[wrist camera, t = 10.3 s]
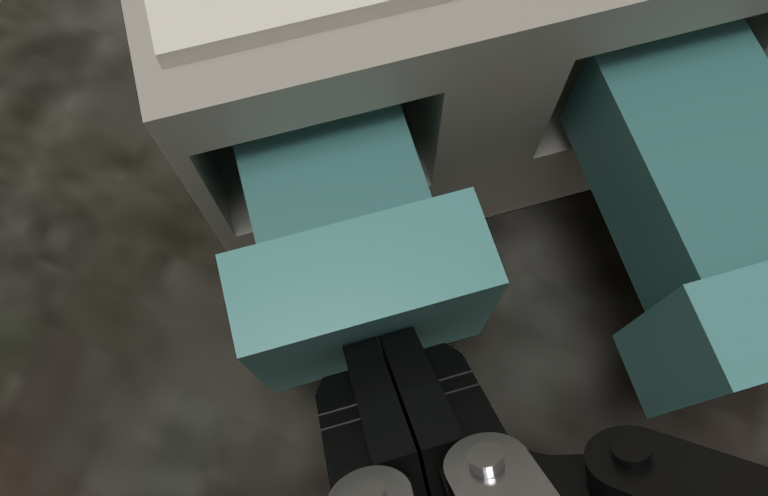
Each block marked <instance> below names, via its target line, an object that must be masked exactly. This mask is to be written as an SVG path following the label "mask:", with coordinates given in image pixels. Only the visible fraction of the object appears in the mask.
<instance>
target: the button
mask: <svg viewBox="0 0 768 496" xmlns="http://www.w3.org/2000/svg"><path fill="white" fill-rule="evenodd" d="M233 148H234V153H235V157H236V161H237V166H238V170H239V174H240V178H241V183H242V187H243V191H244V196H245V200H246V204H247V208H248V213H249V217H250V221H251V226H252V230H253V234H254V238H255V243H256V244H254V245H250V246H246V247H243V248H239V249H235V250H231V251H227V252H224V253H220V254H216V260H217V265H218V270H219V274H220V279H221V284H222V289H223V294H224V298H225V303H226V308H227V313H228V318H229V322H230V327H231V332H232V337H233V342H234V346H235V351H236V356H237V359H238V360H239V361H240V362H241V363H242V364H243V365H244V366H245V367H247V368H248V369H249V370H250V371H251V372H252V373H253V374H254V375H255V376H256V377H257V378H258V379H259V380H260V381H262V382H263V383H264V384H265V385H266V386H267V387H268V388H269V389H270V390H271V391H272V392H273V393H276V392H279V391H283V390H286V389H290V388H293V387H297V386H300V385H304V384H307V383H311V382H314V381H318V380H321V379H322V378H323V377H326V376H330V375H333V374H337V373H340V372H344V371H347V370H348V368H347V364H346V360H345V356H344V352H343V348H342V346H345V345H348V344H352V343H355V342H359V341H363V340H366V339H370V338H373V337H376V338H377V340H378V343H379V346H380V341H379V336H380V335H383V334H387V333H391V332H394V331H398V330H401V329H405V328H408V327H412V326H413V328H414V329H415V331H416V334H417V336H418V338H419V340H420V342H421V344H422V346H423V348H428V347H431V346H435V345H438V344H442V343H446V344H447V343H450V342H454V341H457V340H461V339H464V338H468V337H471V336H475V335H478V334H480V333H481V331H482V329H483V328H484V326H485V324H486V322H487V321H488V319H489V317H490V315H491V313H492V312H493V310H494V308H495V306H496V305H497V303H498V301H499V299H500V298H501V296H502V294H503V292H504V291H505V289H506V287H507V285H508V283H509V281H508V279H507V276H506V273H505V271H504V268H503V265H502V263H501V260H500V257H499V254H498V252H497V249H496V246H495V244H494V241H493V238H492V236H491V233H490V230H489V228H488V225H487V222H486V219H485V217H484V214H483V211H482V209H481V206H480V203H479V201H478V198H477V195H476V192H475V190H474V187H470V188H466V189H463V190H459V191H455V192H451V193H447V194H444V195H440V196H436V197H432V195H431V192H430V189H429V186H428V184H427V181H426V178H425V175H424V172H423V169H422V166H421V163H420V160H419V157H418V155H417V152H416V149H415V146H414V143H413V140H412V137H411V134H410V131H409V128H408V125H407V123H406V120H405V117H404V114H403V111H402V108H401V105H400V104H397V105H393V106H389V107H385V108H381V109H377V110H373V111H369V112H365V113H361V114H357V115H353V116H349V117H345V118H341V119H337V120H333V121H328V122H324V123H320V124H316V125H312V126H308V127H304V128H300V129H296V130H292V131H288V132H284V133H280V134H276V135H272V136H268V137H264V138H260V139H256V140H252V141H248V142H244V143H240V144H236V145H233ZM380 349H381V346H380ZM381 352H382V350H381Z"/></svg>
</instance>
